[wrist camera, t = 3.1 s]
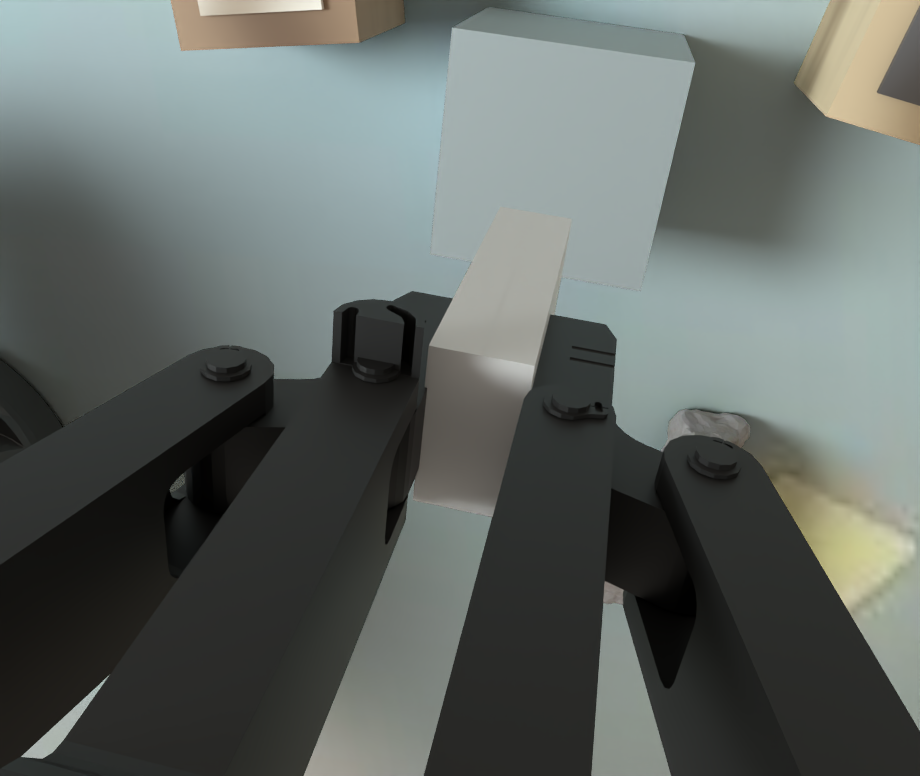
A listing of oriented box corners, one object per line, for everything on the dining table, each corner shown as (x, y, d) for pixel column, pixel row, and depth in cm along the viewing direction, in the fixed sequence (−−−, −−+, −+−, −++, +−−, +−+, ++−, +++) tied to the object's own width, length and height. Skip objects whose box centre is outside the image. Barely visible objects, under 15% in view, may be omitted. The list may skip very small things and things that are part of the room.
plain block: (467, 195, 34) (429, 254, 28) (489, 6, 30) (451, 27, 24) (640, 224, 33) (640, 291, 27) (683, 34, 29) (695, 62, 23)
